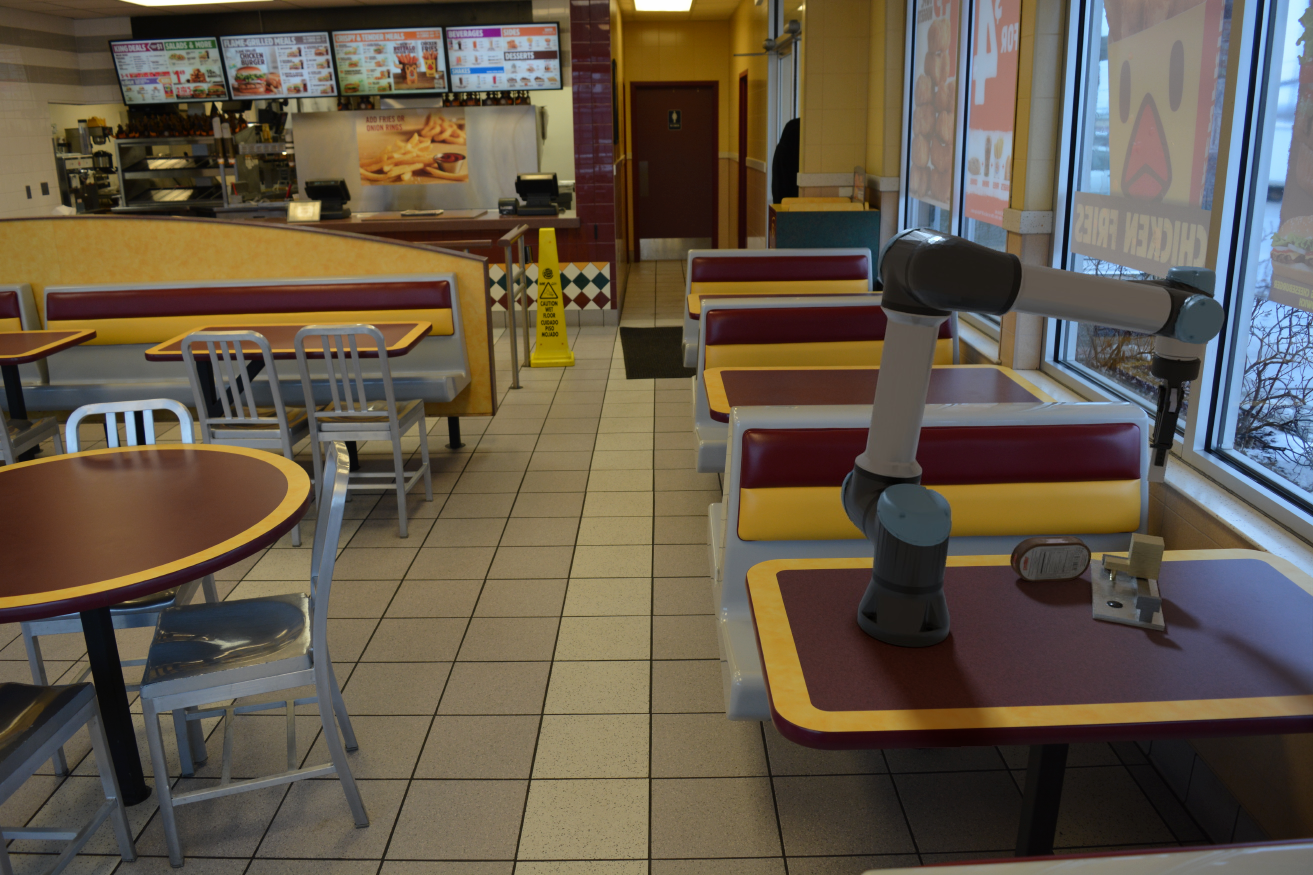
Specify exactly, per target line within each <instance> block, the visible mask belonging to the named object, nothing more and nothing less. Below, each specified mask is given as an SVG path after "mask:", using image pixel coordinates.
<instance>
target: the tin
mask: <svg viewBox="0 0 1313 875" xmlns="http://www.w3.org/2000/svg"><path fill="white" fill-rule="evenodd" d="M1091 559H1092V551H1091V549H1090V548H1089V546H1088V545H1087V544H1086V543H1085V542H1084V541H1083V540H1082V539H1081V538H1079V537H1077V536H1072V535H1068V536H1067V535H1059V536H1033V537H1028V538H1025V539H1024V540H1022V541H1020V542H1019V543H1018V544H1017V545H1016V546H1015V547H1014V548H1013V550H1012V552H1011V555H1010V559H1009V561H1010V567H1011V569H1012V571H1013V572H1014V573H1015V574H1017V575H1018V576H1019V577H1020V578H1022V580H1024V581H1027V582H1032V583H1033V582H1056V581H1057V582H1058V581H1073V580H1075V579H1078V578H1080V577H1082V575H1084V574H1085V573H1086V571H1087V570H1088V569H1089V567H1090V565H1091Z"/></svg>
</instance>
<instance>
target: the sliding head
mask: <svg viewBox="0 0 1313 875" xmlns="http://www.w3.org/2000/svg"><path fill="white" fill-rule="evenodd" d="M1131 534H1132V535H1131V539H1130V545H1129V550H1128V556H1127V558H1128V560H1126V559H1119V558H1113V557H1107V556H1105V562H1104V566H1105V568H1106V569H1112V571H1111V576H1110V580H1112V581H1116V577H1117V572H1118V571H1124V572H1127V575H1129V576H1135V577H1141V578H1147V579H1153V580H1156V581H1159V577H1160V571H1161V567H1162V561H1163V556H1164V552H1165V542H1164V541H1165V540H1164V537H1162V536H1154V535H1149V534H1142V533H1138V532H1137V533H1136V532H1132V533H1131Z"/></svg>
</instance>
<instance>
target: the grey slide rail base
mask: <svg viewBox="0 0 1313 875" xmlns="http://www.w3.org/2000/svg"><path fill="white" fill-rule="evenodd" d="M1105 556H1107V557H1113V558H1119V559H1126V560H1128V556H1126V557H1125V556H1119V555H1113V554H1107V553H1102V556H1101V561H1102V565H1104V562H1105ZM1132 577H1133V584H1134V592H1135V599H1136V605H1135V608H1136V609H1137V614H1138V621H1140V622H1146V623H1151V624H1152V619H1153V614H1154V612H1157V613H1159V611H1160V606H1161V605H1162V601H1163V600H1162V597H1160V596H1159V597H1155V596H1151V592H1150V587H1149V581H1148V579H1147V578H1141V577H1135V576H1132ZM1161 607H1162V606H1161Z"/></svg>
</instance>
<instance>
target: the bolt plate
mask: <svg viewBox="0 0 1313 875" xmlns="http://www.w3.org/2000/svg"><path fill="white" fill-rule="evenodd" d="M1111 571H1112V569H1106V568H1105V566H1104V565H1102V559H1094V558H1091V561H1090V582H1091V602H1092V603H1091V604H1092V605H1091V606H1092V619H1095V620H1101V621H1106V622H1112V623H1116V624H1123V625H1128V626H1132V627H1133V626H1134V627H1138V628H1145V629H1151V630H1156V631H1162V632H1164V631H1165V626H1166V625H1165V622H1164V614H1163V611H1162V610H1163V609H1162V606H1160V611H1159V613H1157V612H1154V614H1153V619H1152V624H1151V623H1146V622H1140V621H1138V614H1137V609H1136V608H1135V605H1136V599H1135V592H1134V584H1133V577H1132V576H1129V575H1127V572H1124V571H1118V572H1117V577H1116V581H1112V580H1110V576H1111ZM1148 581H1149V587H1150V592H1151V596H1155V597H1160V594H1159V589H1158V588H1159V587H1158V583H1157V580H1153V579H1148Z"/></svg>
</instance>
